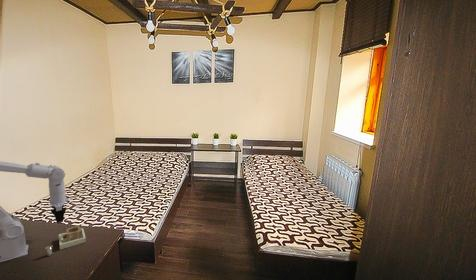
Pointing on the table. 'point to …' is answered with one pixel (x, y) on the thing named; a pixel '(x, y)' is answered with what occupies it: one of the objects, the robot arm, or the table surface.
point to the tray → (66, 244)
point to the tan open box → (73, 233)
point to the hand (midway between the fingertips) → (59, 218)
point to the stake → (49, 250)
